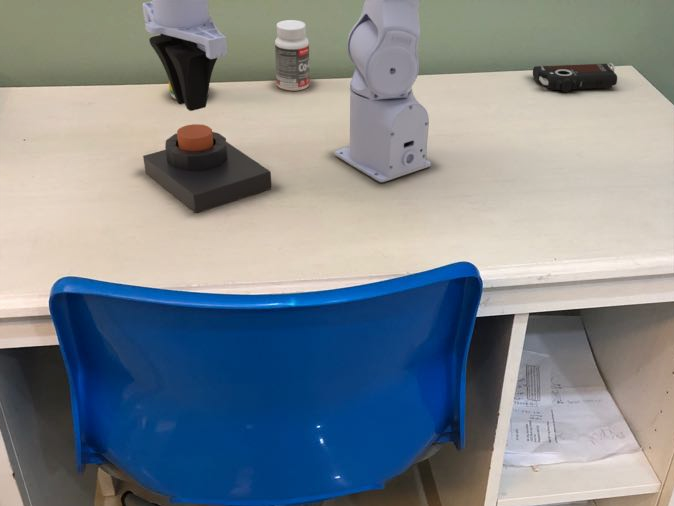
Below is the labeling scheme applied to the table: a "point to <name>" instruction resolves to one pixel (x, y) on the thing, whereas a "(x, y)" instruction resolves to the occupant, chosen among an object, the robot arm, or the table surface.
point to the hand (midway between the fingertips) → (191, 104)
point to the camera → (576, 76)
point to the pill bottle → (292, 55)
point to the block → (207, 173)
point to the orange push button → (195, 137)
